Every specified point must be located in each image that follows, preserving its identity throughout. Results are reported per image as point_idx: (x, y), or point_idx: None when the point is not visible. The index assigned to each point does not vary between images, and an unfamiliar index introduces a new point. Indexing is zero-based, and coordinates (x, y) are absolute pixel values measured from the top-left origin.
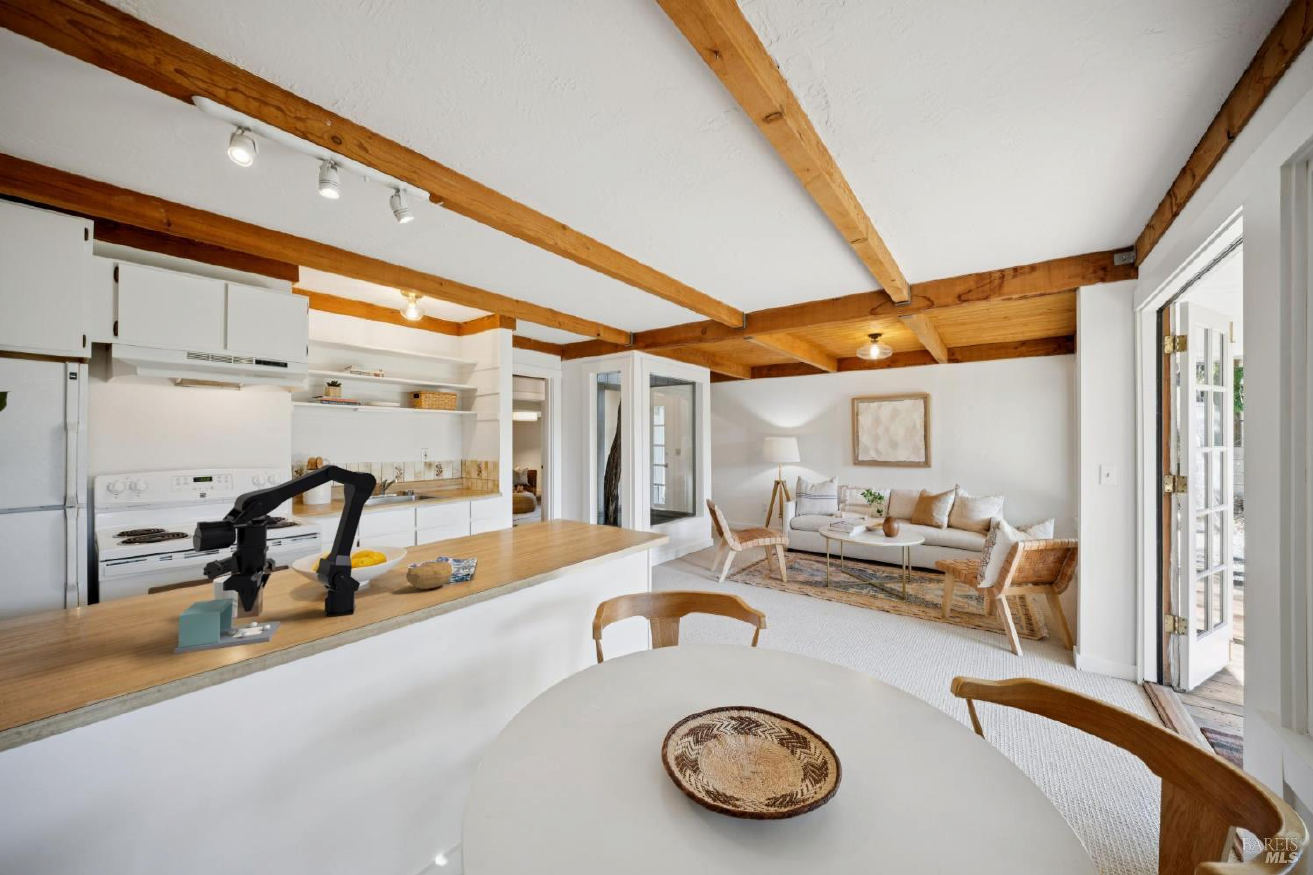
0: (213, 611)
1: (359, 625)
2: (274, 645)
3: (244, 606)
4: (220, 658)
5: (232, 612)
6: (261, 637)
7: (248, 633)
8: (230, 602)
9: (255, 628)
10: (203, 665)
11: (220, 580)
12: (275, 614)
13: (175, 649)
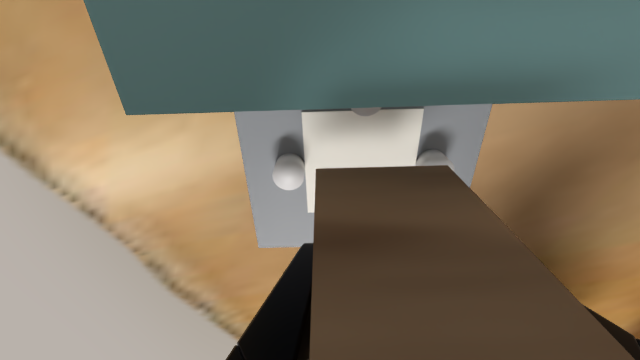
0: (123, 32)
1: None
2: (213, 257)
3: (285, 279)
4: (101, 119)
5: None
6: (261, 225)
7: (283, 187)
8: (604, 92)
9: None
10: (21, 74)
11: None
12: (630, 188)
13: None
